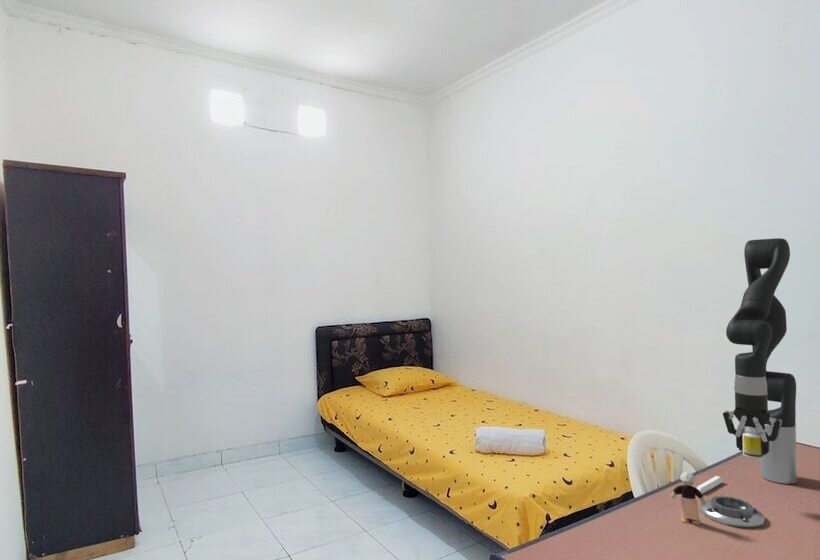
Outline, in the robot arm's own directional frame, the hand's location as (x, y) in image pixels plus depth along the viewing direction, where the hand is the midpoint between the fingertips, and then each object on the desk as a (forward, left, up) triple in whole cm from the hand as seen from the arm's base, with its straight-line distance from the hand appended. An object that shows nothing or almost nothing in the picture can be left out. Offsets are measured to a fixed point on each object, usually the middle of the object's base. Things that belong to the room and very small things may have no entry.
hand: (752, 451), depth 138 cm
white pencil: (-1, -12, -15) cm, 19 cm away
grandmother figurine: (+25, -9, -14) cm, 30 cm away
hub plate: (+13, -2, -14) cm, 20 cm away
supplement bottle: (0, 0, -1) cm, 1 cm away
